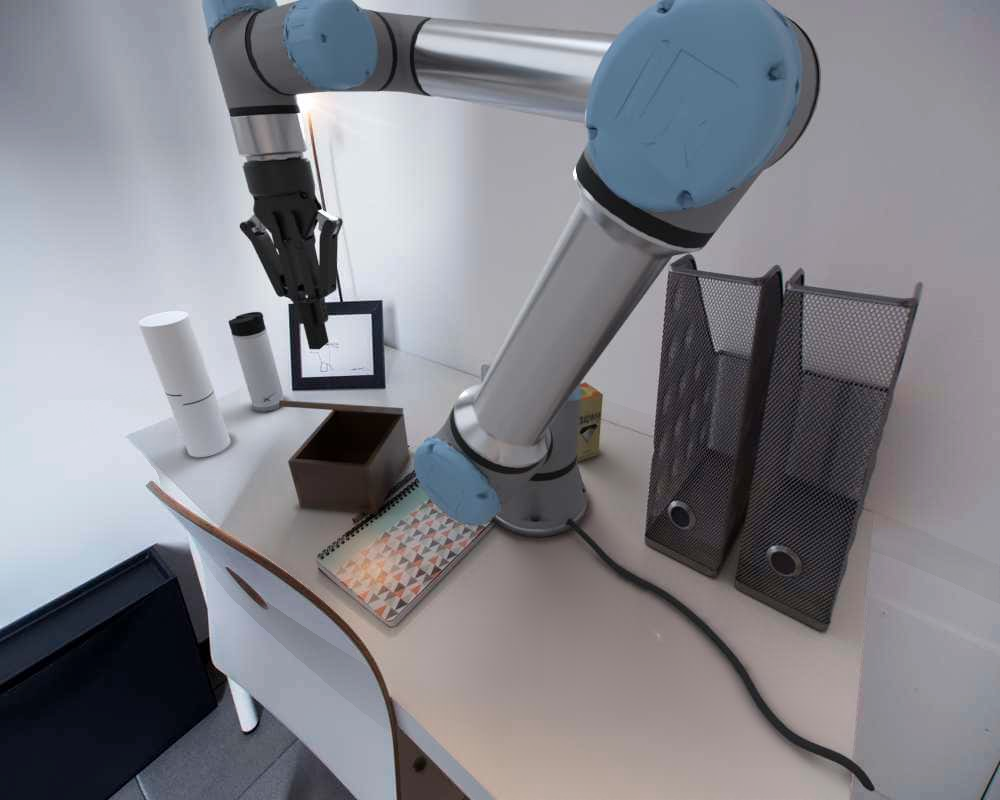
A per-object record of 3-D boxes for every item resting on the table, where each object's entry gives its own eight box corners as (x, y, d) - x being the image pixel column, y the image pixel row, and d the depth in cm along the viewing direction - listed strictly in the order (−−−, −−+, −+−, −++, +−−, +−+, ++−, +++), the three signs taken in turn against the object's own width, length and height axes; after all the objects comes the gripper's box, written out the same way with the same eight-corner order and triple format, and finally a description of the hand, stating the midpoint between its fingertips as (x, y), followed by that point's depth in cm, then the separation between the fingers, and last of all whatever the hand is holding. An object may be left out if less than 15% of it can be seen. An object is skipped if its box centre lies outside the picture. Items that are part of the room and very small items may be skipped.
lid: (362, 412, 73) (362, 405, 73) (278, 406, 75) (278, 400, 75) (403, 413, 89) (403, 408, 89) (333, 408, 91) (333, 403, 91)
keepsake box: (376, 514, 80) (368, 468, 76) (300, 507, 82) (287, 461, 78) (409, 455, 94) (403, 412, 89) (342, 450, 96) (334, 408, 91)
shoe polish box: (598, 454, 92) (602, 394, 86) (574, 462, 90) (577, 401, 85) (582, 440, 96) (585, 382, 90) (559, 448, 94) (560, 389, 88)
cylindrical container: (201, 435, 101) (155, 311, 89) (237, 435, 101) (196, 310, 89) (180, 457, 95) (128, 326, 83) (218, 457, 95) (172, 326, 82)
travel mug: (276, 413, 108) (250, 321, 98) (247, 411, 109) (219, 319, 99) (292, 398, 113) (269, 309, 103) (264, 396, 114) (239, 308, 105)
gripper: (341, 152, 64) (374, 336, 75) (245, 158, 66) (290, 335, 77) (310, 156, 57) (351, 357, 68) (205, 162, 60) (261, 355, 71)
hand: (319, 345), depth 73 cm, fingers closed
